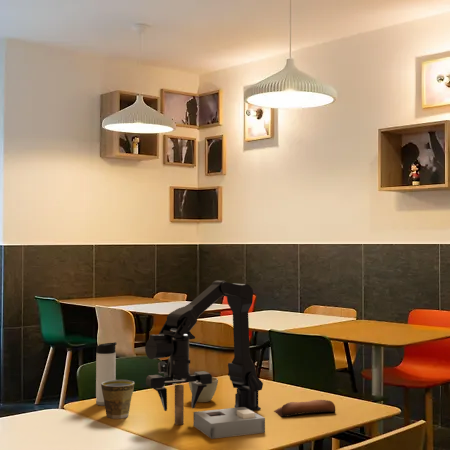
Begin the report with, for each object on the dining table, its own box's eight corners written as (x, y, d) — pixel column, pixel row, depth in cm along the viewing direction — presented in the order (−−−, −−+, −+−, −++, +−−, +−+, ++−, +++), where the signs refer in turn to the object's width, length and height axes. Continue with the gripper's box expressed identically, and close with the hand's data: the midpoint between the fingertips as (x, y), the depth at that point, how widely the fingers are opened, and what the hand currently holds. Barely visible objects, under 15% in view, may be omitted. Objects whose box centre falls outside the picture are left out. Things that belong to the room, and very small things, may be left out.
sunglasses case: (323, 406, 217) (328, 391, 214) (332, 422, 211) (337, 406, 208) (271, 411, 211) (275, 395, 208) (278, 427, 205) (283, 411, 202)
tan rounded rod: (181, 422, 198) (181, 384, 198) (184, 424, 196) (184, 386, 196) (173, 423, 197) (173, 385, 197) (176, 425, 195) (176, 386, 195)
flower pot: (223, 399, 228) (223, 378, 228) (207, 405, 219) (207, 383, 219) (199, 395, 233) (199, 375, 233) (182, 401, 224) (182, 379, 225)
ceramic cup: (140, 415, 206) (141, 382, 206) (114, 422, 198) (114, 387, 199) (114, 408, 214) (114, 377, 215) (88, 414, 207) (88, 381, 207)
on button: (248, 416, 192) (248, 409, 192) (255, 420, 188) (255, 412, 188) (236, 417, 191) (236, 410, 191) (243, 421, 187) (243, 414, 187)
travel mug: (112, 406, 218) (112, 344, 218) (93, 405, 219) (93, 343, 220) (119, 401, 224) (119, 341, 224) (100, 401, 225) (100, 340, 226)
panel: (244, 420, 200) (244, 406, 200) (265, 432, 187) (264, 417, 187) (193, 425, 194) (193, 411, 194) (211, 438, 181) (211, 423, 181)
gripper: (199, 349, 208) (199, 400, 208) (140, 353, 201) (140, 406, 200) (212, 355, 198) (212, 408, 197) (151, 359, 191) (151, 414, 190)
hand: (179, 409), depth 197 cm, fingers open, 8 cm apart
